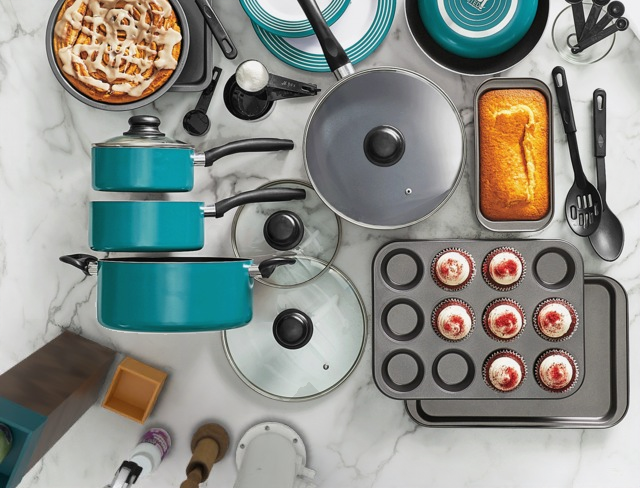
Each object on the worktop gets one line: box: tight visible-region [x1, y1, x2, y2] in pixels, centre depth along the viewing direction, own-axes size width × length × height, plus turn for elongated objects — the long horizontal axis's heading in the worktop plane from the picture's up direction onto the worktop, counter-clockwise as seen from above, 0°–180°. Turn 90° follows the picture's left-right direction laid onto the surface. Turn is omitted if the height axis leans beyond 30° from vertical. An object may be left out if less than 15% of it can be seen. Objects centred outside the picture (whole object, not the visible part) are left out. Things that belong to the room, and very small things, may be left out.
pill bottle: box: [129, 427, 172, 480], centre depth 118 cm, size 5×5×10 cm
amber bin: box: [100, 356, 169, 425], centre depth 120 cm, size 8×8×4 cm
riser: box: [0, 329, 118, 478], centre depth 108 cm, size 10×10×28 cm
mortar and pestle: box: [179, 422, 230, 488], centre depth 113 cm, size 7×6×18 cm
